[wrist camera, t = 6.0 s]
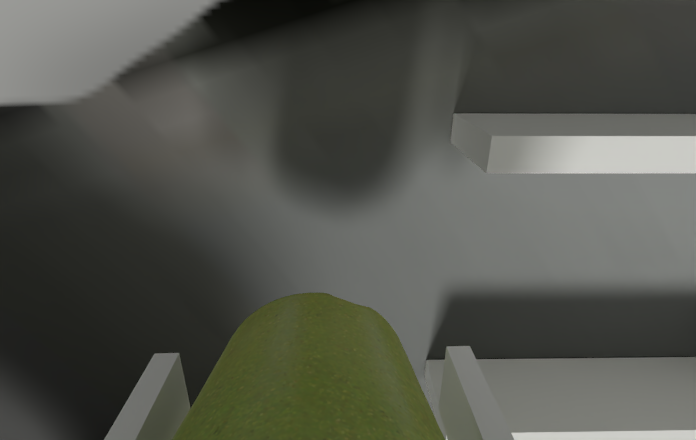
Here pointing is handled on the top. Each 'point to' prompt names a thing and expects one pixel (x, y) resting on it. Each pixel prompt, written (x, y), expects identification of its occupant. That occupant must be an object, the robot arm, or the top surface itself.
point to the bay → (583, 373)
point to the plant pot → (312, 378)
